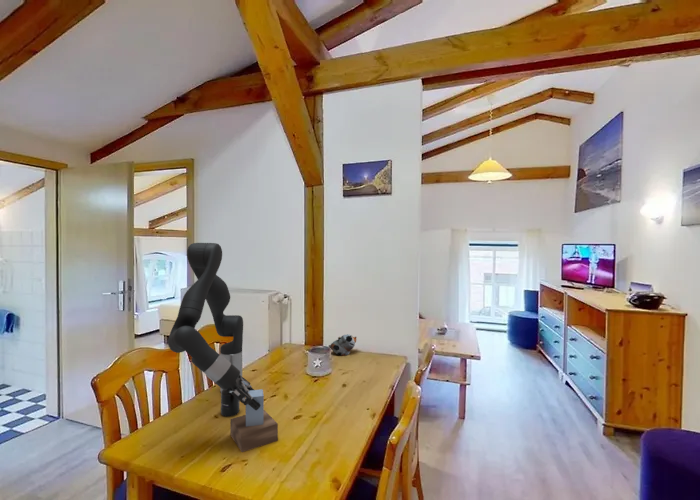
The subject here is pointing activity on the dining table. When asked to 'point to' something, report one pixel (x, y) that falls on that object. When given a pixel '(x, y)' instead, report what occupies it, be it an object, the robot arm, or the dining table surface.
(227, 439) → the dining table surface
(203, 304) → the robot arm
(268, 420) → the walnut box
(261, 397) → the blue-gray rectangular block
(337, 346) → the grey toy figure
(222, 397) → the supplement bottle
